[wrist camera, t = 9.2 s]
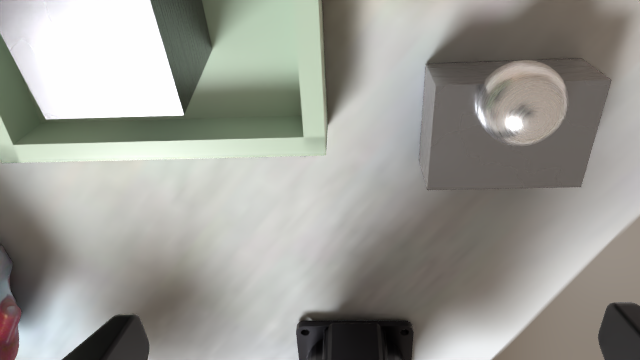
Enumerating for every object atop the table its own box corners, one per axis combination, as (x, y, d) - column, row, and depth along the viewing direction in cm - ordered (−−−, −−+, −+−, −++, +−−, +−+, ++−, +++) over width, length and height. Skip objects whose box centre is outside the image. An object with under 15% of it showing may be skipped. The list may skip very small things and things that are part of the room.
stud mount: (557, 157, 21) (601, 212, 17) (419, 160, 21) (434, 214, 18) (586, 37, 18) (645, 74, 15) (427, 43, 18) (446, 80, 15)
